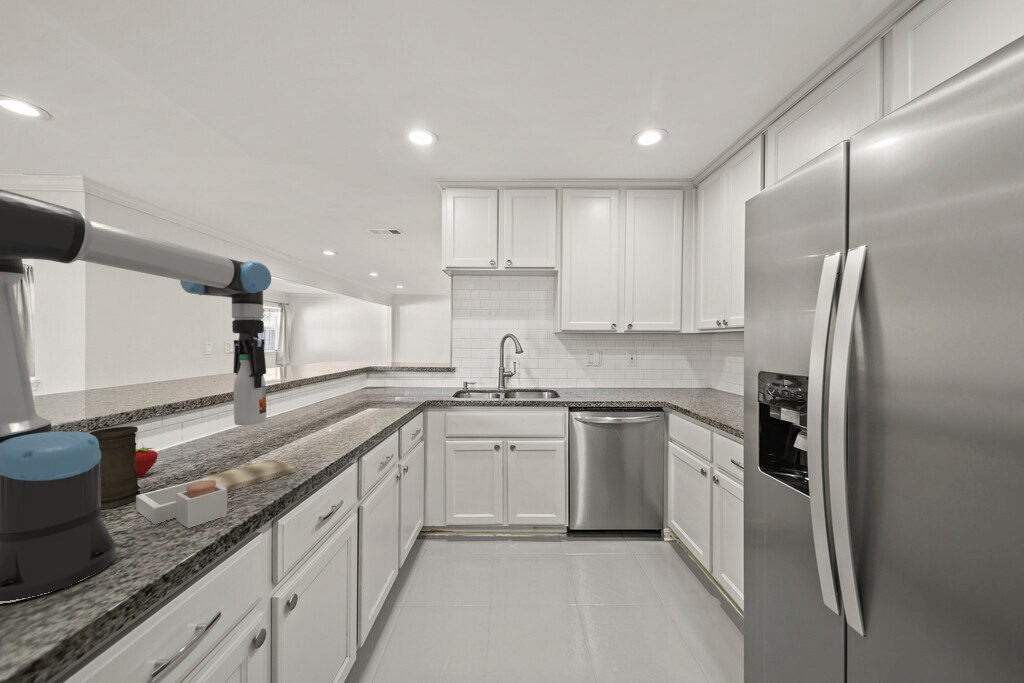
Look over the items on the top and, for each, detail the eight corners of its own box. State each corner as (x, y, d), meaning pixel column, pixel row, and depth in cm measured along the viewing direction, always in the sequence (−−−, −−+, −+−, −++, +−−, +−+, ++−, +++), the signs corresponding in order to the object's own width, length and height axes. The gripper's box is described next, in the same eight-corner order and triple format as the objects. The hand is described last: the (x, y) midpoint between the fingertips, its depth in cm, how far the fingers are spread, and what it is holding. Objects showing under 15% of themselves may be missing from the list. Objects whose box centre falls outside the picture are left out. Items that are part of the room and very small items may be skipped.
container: (107, 511, 90) (105, 434, 90) (78, 508, 92) (76, 433, 92) (150, 495, 99) (149, 426, 99) (123, 493, 101) (121, 425, 101)
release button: (191, 516, 82) (191, 490, 82) (183, 511, 85) (182, 485, 85) (220, 507, 86) (220, 482, 86) (211, 502, 89) (210, 478, 89)
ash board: (225, 492, 100) (225, 486, 100) (204, 482, 108) (204, 477, 108) (295, 472, 115) (295, 467, 115) (272, 464, 123) (272, 459, 123)
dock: (168, 535, 78) (167, 506, 78) (136, 510, 90) (135, 484, 90) (243, 510, 89) (242, 484, 89) (205, 491, 101) (205, 468, 101)
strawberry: (123, 477, 114) (122, 443, 114) (158, 470, 119) (157, 438, 119) (122, 482, 109) (121, 447, 109) (158, 475, 114) (157, 442, 114)
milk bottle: (251, 426, 107) (249, 354, 107) (227, 425, 108) (225, 354, 108) (272, 420, 115) (271, 353, 115) (250, 420, 116) (248, 353, 116)
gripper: (279, 318, 109) (281, 399, 109) (246, 321, 120) (248, 394, 120) (249, 317, 103) (251, 403, 103) (218, 320, 114) (220, 397, 114)
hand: (250, 398), depth 112 cm, fingers closed on milk bottle, 7 cm apart
